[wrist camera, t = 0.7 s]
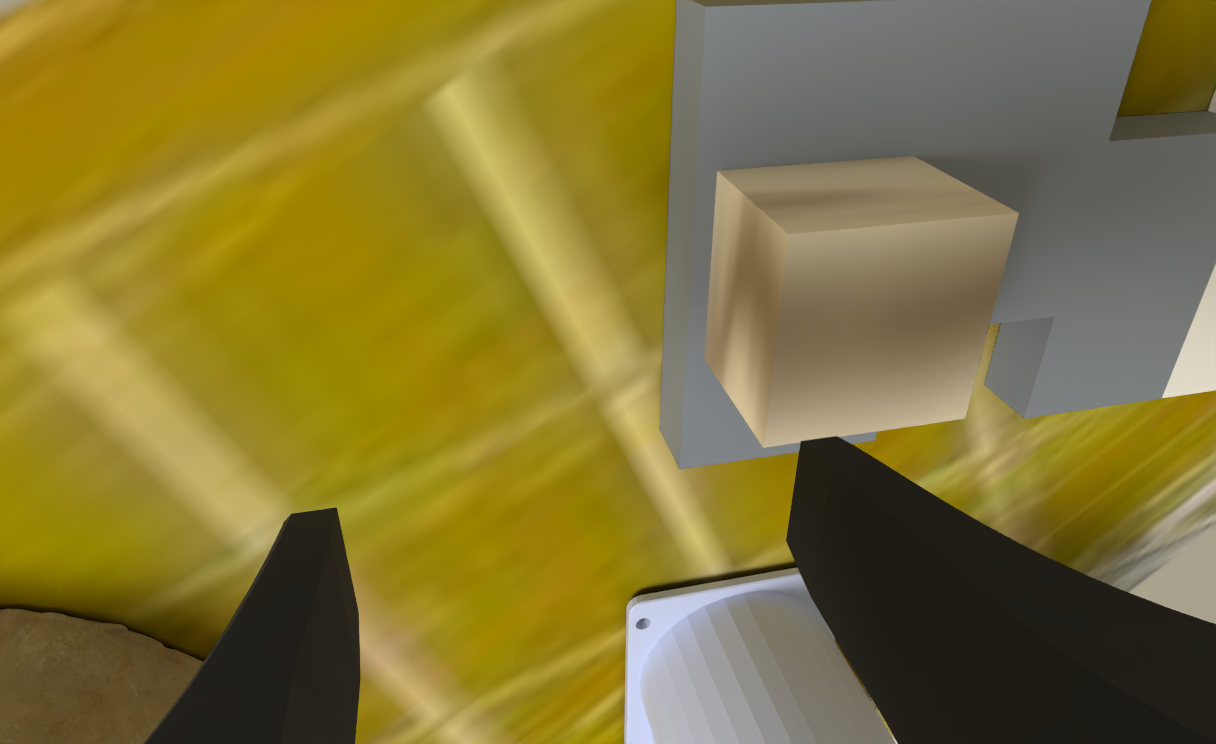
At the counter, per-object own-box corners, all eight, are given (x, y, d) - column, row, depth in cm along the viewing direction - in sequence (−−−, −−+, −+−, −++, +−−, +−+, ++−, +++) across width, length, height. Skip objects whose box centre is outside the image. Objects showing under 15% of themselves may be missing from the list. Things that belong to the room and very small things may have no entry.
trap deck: (1284, 343, 30) (1415, 412, 26) (659, 429, 25) (709, 527, 22) (1460, -31, 24) (1664, -11, 20) (676, -6, 19) (750, 25, 15)
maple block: (879, 337, 23) (965, 418, 20) (704, 359, 22) (763, 447, 19) (913, 155, 20) (1019, 212, 17) (717, 171, 19) (788, 234, 16)
